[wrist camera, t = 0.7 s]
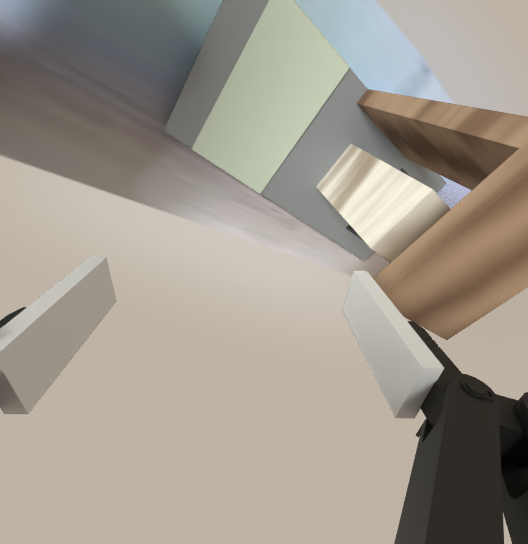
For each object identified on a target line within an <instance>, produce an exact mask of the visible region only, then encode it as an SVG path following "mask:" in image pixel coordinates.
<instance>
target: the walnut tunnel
mask: <svg viewBox="0 0 528 544" xmlns="http://www.w3.org/2000/svg"><path fill="white" fill-rule="evenodd" d="M357 104H358V105H359V106H360V107H361V109H362V110H363V111H364V112H365V113H366V114H367V115H368V116H369V117H370V119H371V120H372V121H373V122H374V123H375V124H376V125H377V126H378V127H379V129H380V130H381V131H382V132H383V133H384V134H385V135H386V136H387V137H388V139H389V140H390V141H391V142H392V143H393V144H394V145H395V146H396V147H397V148H398V150H399V151H400V152H401V153H402V154H403V155H404V156H405V157H406V158H407V159H408V160H410V161H412V162H415V163H417V164H419V165H421V166H423V167H425V168H427V169H429V170H431V171H433V172H435V173H437V174H439V175H442V176H444V177H446V178H448V179H450V180H452V181H454V182H456V183H458V184H460V185H462V186H464V187H466V188H468V189H471V190H472V191H471V192H470V193H469V194H468V195H466V196H465V197H464V198H463V199H462V200H461V201H460V202H459V203H457V204H456V205H455V206H454V207H453V208H452V209H451V210H450V211H448V212H447V213H446V214H445V215H444V216H443V217H442V218H441V219H439V220H438V221H437V222H436V223H435V224H434V225H433V226H432V227H430V228H429V229H428V230H427V231H426V232H425V233H424V234H423V235H421V236H420V237H419V238H418V239H417V240H416V241H415V242H414V243H412V244H411V245H410V246H409V247H408V248H407V249H406V250H405V251H403V252H402V253H401V254H400V255H399V256H398V257H397V258H396V259H395V260H393V261H392V262H391V263H390V264H389V265H388V266H387V267H386V268H384V269H383V270H382V271H381V272H380V273H379V274H378V275H377V276H375V277H374V278H373V279H374V280H375V282H376V283H377V284H378V285H379V287H380V288H381V289H382V290H383V292H384V293H385V294H386V295H387V297H388V298H389V299H390V300H391V302H392V303H393V304H394V305H395V307H396V308H397V309H398V310H399V312H400V313H401V314H402V316H404V317H405V318H407V319H409V320H411V321H414V322H415V323H416V324H418V325H420V326H422V327H424V328H426V329H427V330H429V331H431V332H433V333H435V334H437V335H438V336H440V337H442V338H444V339H446V340H448V339H449V338H451V337H452V336H454V335H455V334H457V333H459V332H460V331H462V330H463V329H465V328H466V327H468V326H469V325H471V324H472V323H474V322H475V321H477V320H478V319H480V318H481V317H483V316H485V315H486V314H488V313H489V312H491V311H492V310H494V309H495V308H497V307H498V306H500V305H501V304H503V303H504V302H506V301H507V300H509V299H510V298H512V297H514V296H515V295H517V294H518V293H520V292H521V291H523V290H524V289H526V288H527V287H528V117H526V116H521V115H515V114H508V113H503V112H497V111H492V110H486V109H479V108H473V107H468V106H462V105H457V104H451V103H445V102H439V101H433V100H427V99H422V98H416V97H410V96H404V95H398V94H392V93H387V92H381V91H375V90H369V89H367V91H366V92H365V93H364V94H363V96H362V97H361V98H360V100H359V101H358V102H357Z"/></svg>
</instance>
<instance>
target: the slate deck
mask: <svg viewBox="0 0 528 544" xmlns="http://www.w3.org/2000/svg"><path fill="white" fill-rule="evenodd" d="M366 91H367V88H366V87H365V86H364V84H363V83H362V82H361V81H360V80H359V78H358V77H357V76H356V75H355V74H354V73H353V71H352V70H351V69H350V67H349V66H348V64H347V63H346V62H345V61H344V60H343V58H342V57H341V56H340V55H339V54H338V52H337V51H336V50H335V49H334V48H333V46H332V45H331V44H330V43H329V42H328V41H327V39H326V38H325V37H324V36H323V35H322V33H321V32H320V31H319V30H318V29H317V27H316V26H315V25H314V24H313V23H312V21H311V20H310V19H309V18H308V17H307V15H306V14H305V13H304V12H303V11H302V9H301V8H300V7H299V6H298V5H297V4H296V2H295V1H294V0H223V2H222V4H221V6H220V8H219V10H218V13H217V15H216V17H215V19H214V21H213V23H212V26H211V28H210V30H209V32H208V34H207V37H206V39H205V41H204V43H203V45H202V48H201V50H200V52H199V54H198V56H197V59H196V61H195V63H194V65H193V67H192V69H191V72H190V74H189V76H188V78H187V80H186V83H185V85H184V87H183V89H182V91H181V94H180V96H179V98H178V100H177V102H176V104H175V107H174V109H173V111H172V113H171V115H170V118H169V120H168V122H167V124H166V126H165V129H164V132H166V133H168V134H169V135H171V136H172V137H174V138H175V139H177V140H178V141H180V142H181V143H183V144H184V145H186V146H188V147H189V148H191V150H193V151H194V152H196V153H198V154H199V155H201V156H202V157H204V158H205V159H207V160H208V161H210V162H211V163H213V164H214V165H216V166H218V167H219V168H221V169H222V170H224V171H225V172H227V173H228V174H230V175H231V176H233V177H235V178H236V179H238V180H239V181H241V182H242V183H244V184H245V185H247V186H248V187H250V188H251V189H253V190H255V191H256V192H258V193H259V194H261V195H263V196H265V197H266V198H268V199H269V200H271V201H272V202H274V203H275V204H277V205H278V206H280V207H281V208H283V209H285V210H286V211H288V212H289V213H291V214H292V215H294V216H295V217H297V218H298V219H300V220H301V221H303V222H305V223H306V224H308V225H309V226H311V227H312V228H314V229H315V230H317V231H318V232H320V233H322V234H323V235H325V236H326V237H328V238H329V239H331V240H332V241H334V242H335V243H337V244H338V245H340V246H342V247H343V248H345V249H346V250H348V251H349V252H351V253H352V254H354V255H355V256H357V257H358V258H360V259H362V260H363V261H365V260H366V259H367V258H368V257H369V256H370V255H371V254H372V253H373V252H374V250H372V249H371V248H370V247H369V246H368V245H367V244H366V243H365V241H364V240H363V239H362V238H361V237H360V236H359V235H358V234H357V232H356V231H355V230H354V229H353V228H352V227H351V226H350V225H349V223H348V222H347V221H346V220H345V219H344V218H343V217H342V216H341V214H340V213H339V212H338V211H337V210H336V209H335V208H334V207H333V205H332V204H331V203H330V202H329V201H328V200H327V199H326V198H325V196H324V195H323V194H322V193H321V192H320V191H319V190H318V189H317V187H316V186H317V185H318V184H319V182H320V181H321V180H322V179H323V178H324V176H325V175H326V174H327V173H328V171H329V170H330V169H331V168H332V166H333V165H334V164H335V163H336V161H337V160H338V159H339V158H340V156H341V155H342V154H343V153H344V152H345V150H346V149H347V148H348V147H349V145H350V144H353V145H355V146H356V147H358V148H360V149H362V150H363V151H365V152H367V153H369V154H371V155H372V156H374V157H376V158H378V159H380V160H381V161H383V162H385V163H387V164H388V165H390V166H392V167H394V168H396V169H397V170H399V171H401V172H403V173H404V174H406V175H408V176H410V177H412V178H413V179H415V180H417V181H419V182H421V183H422V184H424V185H426V186H428V187H429V188H431V189H433V190H434V191H435V192H436V193H437V192H438V191H439V190H440V189H441V188H442V187H443V186H444V185H445V184H446V182H445V181H444V180H443V178H442V177H441V176H440V175H439V174H437V173H435V172H433V171H431V170H429V169H427V168H425V167H423V166H421V165H419V164H417V163H415V162H412V161H410V160H408V159H407V158H406V157H405V156H404V155H403V154H402V153H401V152H400V151H399V150H398V148H397V147H396V146H395V145H394V144H393V143H392V142H391V141H390V140H389V139H388V137H387V136H386V135H385V134H384V133H383V132H382V131H381V130H380V129H379V127H378V126H377V125H376V124H375V123H374V122H373V121H372V120H371V119H370V117H369V116H368V115H367V114H366V113H365V112H364V111H363V110H362V109H361V107H360V106H359V105H358V104H357V102H358V101H359V100H360V98H361V97H362V96H363V94H364V93H365V92H366Z"/></svg>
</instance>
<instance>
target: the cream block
mask: <svg viewBox="0 0 528 544" xmlns="http://www.w3.org/2000/svg"><path fill="white" fill-rule="evenodd" d="M316 187H317V189H318V190H319V191H320V192H321V193H322V194H323V195H324V196H325V198H326V199H327V200H328V201H329V202H330V203H331V204H332V205H333V207H334V208H335V209H336V210H337V211H338V212H339V213H340V214H341V216H342V217H343V218H344V219H345V220H346V221H347V222H348V223H349V225H350V226H351V227H352V228H353V229H354V230H355V231H356V232H357V234H358V235H359V236H360V237H361V238H362V239H363V240H364V241H365V243H366V244H367V245H368V246H369V247H370V248H371V249H372V250H374V251H375V252H376V253H378V254H379V255H381V256H382V257H383V258H385V259H386V260H388V261H389V262H392V261H393V260H395V259H396V258H397V257H398V256H399V255H400V254H401V253H402V252H403V251H405V250H406V249H407V248H408V247H409V246H410V245H411V244H412V243H414V242H415V241H416V240H417V239H418V238H419V237H420V236H421V235H423V234H424V233H425V232H426V231H427V230H428V229H429V228H430V227H432V226H433V225H434V224H435V223H436V222H437V221H438V220H439V219H441V218H442V217H443V216H444V215H445V214H446V213H447V212H448V211H450V210H451V209H450V208H449V207H448V206H447V204H446V203H445V202H444V201H443V200H442V199H441V198H440V197H439V196H438V195H437V193H436V192H435V191H434V190H433V189H431V188H429V187H428V186H426V185H424V184H422V183H421V182H419V181H417V180H415V179H413V178H412V177H410V176H408V175H406V174H404V173H403V172H401V171H399V170H397V169H396V168H394V167H392V166H390V165H388V164H387V163H385V162H383V161H381V160H380V159H378V158H376V157H374V156H372V155H371V154H369V153H367V152H365V151H363V150H362V149H360V148H358V147H356V146H355V145H353V144H350V145H349V147H348V148H347V149H346V150H345V152H344V153H343V154H342V155H341V156H340V158H339V159H338V160H337V161H336V163H335V164H334V165H333V166H332V168H331V169H330V170H329V171H328V173H327V174H326V175H325V176H324V178H323V179H322V180H321V181H320V182H319V184H318V185H317V186H316Z"/></svg>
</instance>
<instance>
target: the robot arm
mask: <svg viewBox="0 0 528 544" xmlns="http://www.w3.org/2000/svg"><path fill="white" fill-rule="evenodd" d="M115 303H116V297H115V293H114V288H113V284H112V280H111V276H110V272H109V267H108V264H107V259H106V257H90V258H88V259H87V260H86V261H85V262H83V263H82V264H81V265H80V266H78V267H77V268H76V269H75V270H73V271H72V272H71V273H70V274H68V275H67V276H66V277H65V278H63V279H62V280H61V281H60V282H58V283H57V284H56V285H55V286H53V287H52V288H51V289H49V290H48V291H47V292H46V293H45V294H43V295H42V296H41V297H39V298H38V299H37V300H36V301H34V303H32V304H31V305H30V306H28V307H23V308H21V309H19V310H17V311H15V312H13V313H11V314H9V315H7V316H6V317H5V318H3V319H2V320H1V321H0V408H1V410H2V411H3V413H4V414H29V413H30V411H31V410H32V409H33V407H34V406H35V405H36V404H37V402H38V401H39V400H40V398H41V397H42V396H43V395H44V393H45V392H46V391H47V390H48V388H49V387H50V386H51V384H52V383H53V382H54V381H55V379H56V378H57V377H58V375H59V374H60V373H61V371H62V370H63V369H64V368H65V367H66V365H67V364H68V363H69V361H70V360H71V359H72V358H73V356H74V355H75V354H76V352H77V351H78V350H79V349H80V347H81V346H82V345H83V344H84V342H85V341H86V340H87V338H88V337H89V336H90V335H91V333H92V332H93V330H94V329H95V328H96V327H97V325H98V324H99V323H100V322H101V320H102V319H103V318H104V317H105V315H106V314H107V313H108V311H109V310H110V309H111V308H112V306H113V305H114V304H115ZM343 312H344V315H345V317H346V318H347V321H348V323H349V325H350V327H351V329H352V331H353V333H354V335H355V337H356V339H357V341H358V343H359V345H360V347H361V349H362V351H363V353H364V355H365V357H366V359H367V361H368V364H369V366H370V368H371V369H372V371H373V373H374V376H375V378H376V380H377V382H378V384H379V386H380V388H381V390H382V392H383V394H384V396H385V398H386V400H387V402H388V404H389V406H390V408H391V410H392V412H393V414H394V417H395V418H415V416H416V415H417V413H418V412H419V410H420V408H421V410H422V411H423V413H424V415H425V416H426V420H425V421H424V423H423V424H422V426H421V428H420V429H419V431H418V432H417V434H416V436H417V437H419V436H420V439H419V442H418V447H417V451H416V455H415V459H414V463H413V468H412V472H411V477H410V481H409V485H408V489H407V493H406V497H405V501H404V506H403V510H402V514H401V518H400V523H399V527H398V531H397V535H396V539H395V543H394V544H504V533H503V532H504V531H503V513H504V517H505V520H506V524H507V527H508V530H509V534H510V537H511V541H512V544H528V392H527V393H524V395H523V396H522V397H521V398H520V399H519V400H514V399H511V398H507V397H504V396H500V395H496V394H495V393H494V392H493V391H492V389H491V388H489V387H488V386H487V385H486V384H485V383H483V382H482V381H480V380H478V379H477V378H475V377H472V376H469V375H467V374H462V373H461V372H460V371H459V369H458V368H457V367H456V366H455V365H454V364H453V362H452V361H451V360H450V359H449V358H448V357H447V355H446V354H445V353H444V352H443V351H442V350H441V348H440V347H438V345H437V344H436V342H435V341H434V340H432V338H431V337H430V336H429V334H428V333H427V332H426V331H425V329H423V328H422V327H420V326H419V325H418V324H416V323H415V322H414V321H406V319H405V318H404V317H403V316H402V314H401V313H400V312H399V310H398V309H397V308H396V307H395V305H394V304H393V303H392V302H391V300H390V299H389V298H388V297H387V295H386V294H385V293H384V292H383V290H382V289H381V288H380V287H379V285H378V284H377V283H376V282H375V280H374V279H373V278H372V277H371V275H370V274H369V273H368V272H367V271H355V270H354V271H353V275H352V278H351V282H350V286H349V289H348V293H347V297H346V300H345V303H344V307H343Z"/></svg>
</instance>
